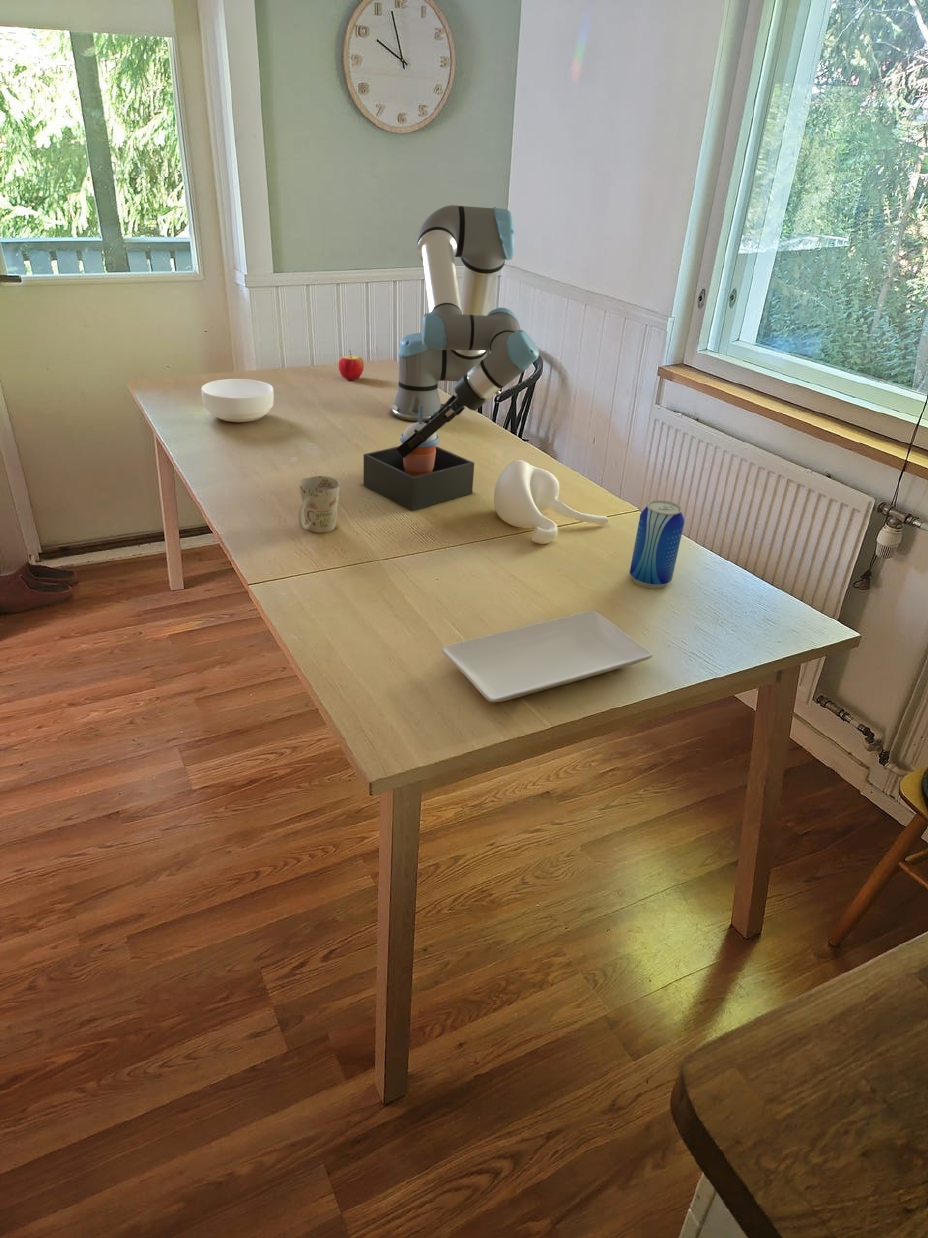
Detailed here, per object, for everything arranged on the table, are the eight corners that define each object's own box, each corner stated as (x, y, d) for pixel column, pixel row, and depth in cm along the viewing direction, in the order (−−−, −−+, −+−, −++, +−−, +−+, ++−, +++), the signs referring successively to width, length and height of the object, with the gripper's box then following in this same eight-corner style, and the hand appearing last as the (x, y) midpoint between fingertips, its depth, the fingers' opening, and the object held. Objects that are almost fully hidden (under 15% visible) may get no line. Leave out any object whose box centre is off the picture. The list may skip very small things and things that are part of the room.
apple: (335, 380, 279) (335, 350, 274) (342, 374, 286) (342, 344, 281) (359, 383, 278) (359, 352, 273) (366, 377, 285) (366, 347, 280)
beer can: (662, 595, 163) (678, 519, 155) (622, 582, 166) (635, 507, 158) (676, 579, 169) (692, 505, 161) (637, 567, 173) (651, 494, 165)
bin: (422, 470, 213) (423, 440, 209) (472, 493, 202) (474, 462, 198) (363, 485, 202) (363, 454, 198) (412, 510, 190) (413, 478, 186)
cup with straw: (439, 474, 204) (443, 401, 195) (434, 488, 196) (438, 412, 187) (402, 471, 205) (404, 397, 195) (396, 484, 197) (397, 409, 188)
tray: (437, 662, 138) (438, 644, 136) (591, 624, 152) (594, 607, 150) (489, 720, 125) (491, 701, 123) (652, 672, 139) (656, 655, 137)
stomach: (515, 564, 180) (606, 559, 191) (535, 516, 171) (629, 513, 182) (475, 497, 194) (562, 495, 204) (492, 449, 185) (582, 450, 196)
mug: (347, 523, 182) (346, 480, 177) (320, 546, 172) (318, 500, 167) (312, 516, 184) (311, 473, 179) (284, 538, 174) (281, 493, 169)
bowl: (289, 417, 243) (288, 388, 238) (239, 433, 228) (237, 402, 224) (240, 403, 251) (238, 374, 247) (188, 417, 237) (185, 387, 232)
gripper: (478, 413, 178) (404, 474, 189) (496, 387, 197) (428, 444, 207) (455, 385, 176) (381, 448, 187) (476, 362, 195) (408, 420, 205)
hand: (406, 446), depth 197 cm, fingers closed on cup with straw, 9 cm apart
